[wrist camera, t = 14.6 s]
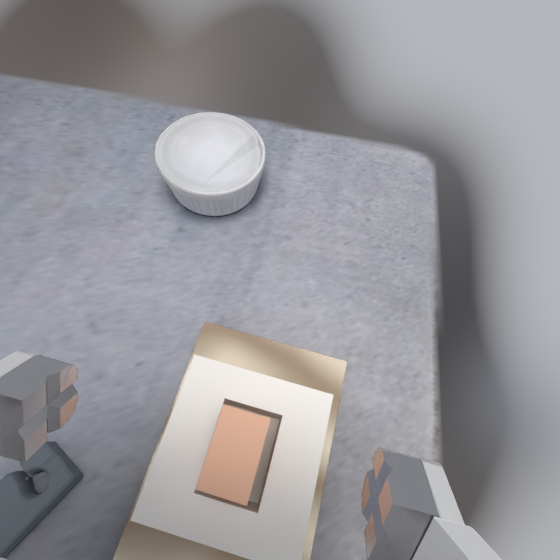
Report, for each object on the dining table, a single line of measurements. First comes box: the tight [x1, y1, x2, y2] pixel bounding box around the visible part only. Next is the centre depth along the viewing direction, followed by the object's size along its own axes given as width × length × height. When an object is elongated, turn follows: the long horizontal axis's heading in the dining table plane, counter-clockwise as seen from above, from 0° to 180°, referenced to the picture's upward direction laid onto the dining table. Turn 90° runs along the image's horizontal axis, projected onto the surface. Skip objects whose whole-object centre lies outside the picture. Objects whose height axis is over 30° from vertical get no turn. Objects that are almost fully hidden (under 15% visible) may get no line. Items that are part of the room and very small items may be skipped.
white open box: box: [130, 354, 333, 560], centre depth 24 cm, size 10×10×6 cm
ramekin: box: [155, 112, 266, 216], centre depth 37 cm, size 11×11×5 cm
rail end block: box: [195, 404, 271, 506], centre depth 21 cm, size 4×3×9 cm, turn 164°
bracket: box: [0, 442, 83, 558], centre depth 25 cm, size 4×10×2 cm, turn 140°
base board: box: [113, 322, 347, 560], centre depth 27 cm, size 18×13×2 cm
